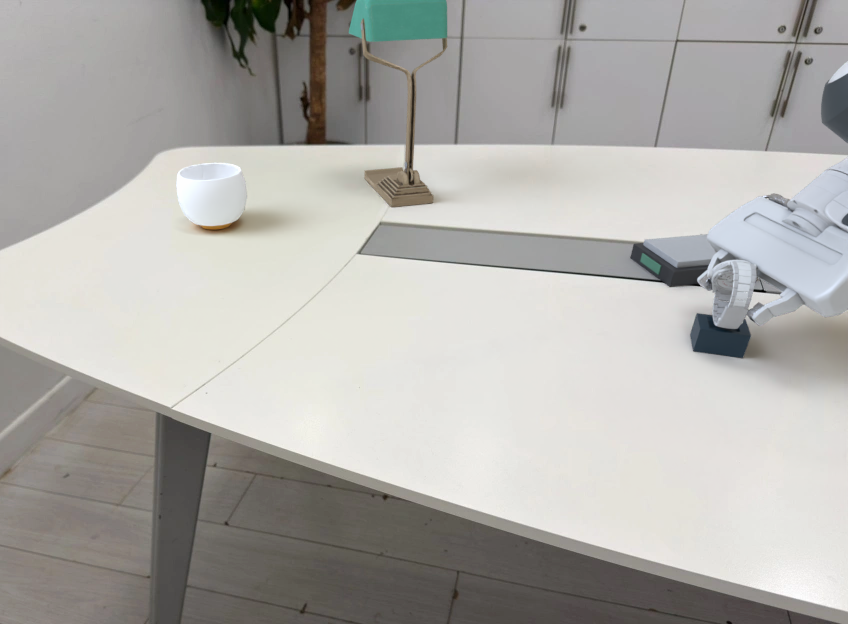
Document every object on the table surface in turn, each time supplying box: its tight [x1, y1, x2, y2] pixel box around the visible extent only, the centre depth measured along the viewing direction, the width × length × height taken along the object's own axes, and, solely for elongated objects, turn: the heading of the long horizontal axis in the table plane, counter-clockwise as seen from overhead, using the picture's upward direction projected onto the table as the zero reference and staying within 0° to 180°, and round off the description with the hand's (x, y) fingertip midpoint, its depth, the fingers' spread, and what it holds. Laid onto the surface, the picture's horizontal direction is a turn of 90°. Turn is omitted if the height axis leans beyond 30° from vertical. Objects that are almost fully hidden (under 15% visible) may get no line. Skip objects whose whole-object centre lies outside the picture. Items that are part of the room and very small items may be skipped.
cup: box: [175, 162, 248, 231], centre depth 120 cm, size 12×12×10 cm
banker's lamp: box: [348, 0, 448, 208], centre depth 129 cm, size 16×21×35 cm
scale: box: [630, 233, 717, 287], centre depth 103 cm, size 14×11×3 cm
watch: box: [689, 260, 758, 359], centre depth 81 cm, size 6×8×11 cm
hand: (726, 302), depth 80 cm, fingers closed on watch, 8 cm apart
